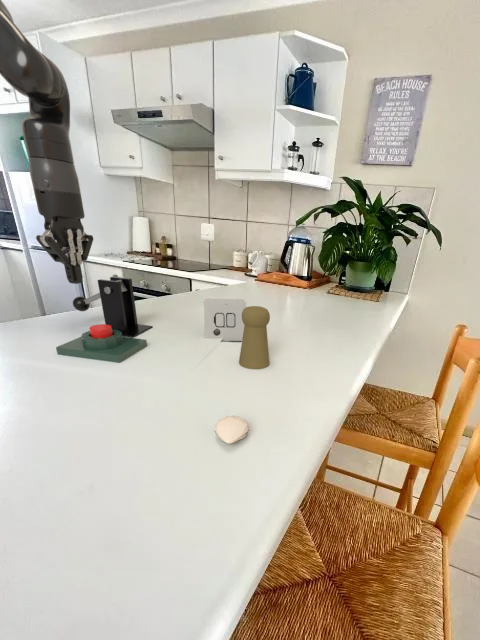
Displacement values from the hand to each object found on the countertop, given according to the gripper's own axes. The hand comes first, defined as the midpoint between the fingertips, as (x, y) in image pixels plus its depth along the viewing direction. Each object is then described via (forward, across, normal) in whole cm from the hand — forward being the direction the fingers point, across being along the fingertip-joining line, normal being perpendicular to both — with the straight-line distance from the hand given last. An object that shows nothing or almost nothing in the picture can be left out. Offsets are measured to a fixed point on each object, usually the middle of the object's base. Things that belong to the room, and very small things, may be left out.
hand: (75, 282), depth 69 cm
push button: (+6, +12, +13) cm, 19 cm away
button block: (+10, +12, +13) cm, 21 cm away
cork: (+10, +7, +41) cm, 43 cm away
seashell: (+10, +32, +44) cm, 56 cm away
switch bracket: (+10, 0, +9) cm, 14 cm away
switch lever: (+4, 0, +5) cm, 7 cm away
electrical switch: (+10, -5, +31) cm, 33 cm away
